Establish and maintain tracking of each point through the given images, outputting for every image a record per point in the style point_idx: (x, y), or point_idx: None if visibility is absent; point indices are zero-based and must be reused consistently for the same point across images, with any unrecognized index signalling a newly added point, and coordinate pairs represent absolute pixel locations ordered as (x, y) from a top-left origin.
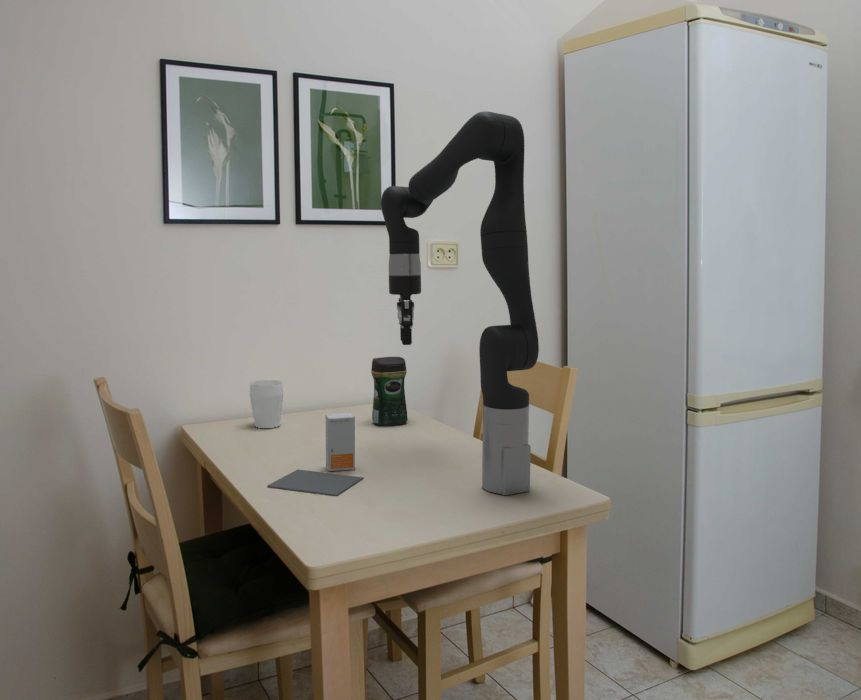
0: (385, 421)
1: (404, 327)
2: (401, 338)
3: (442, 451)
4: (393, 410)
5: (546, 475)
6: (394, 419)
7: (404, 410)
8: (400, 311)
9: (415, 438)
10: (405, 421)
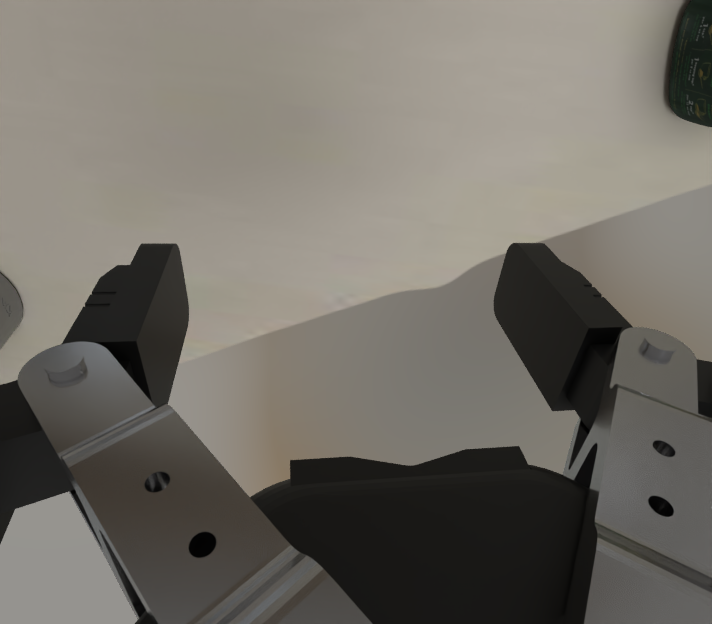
0: (688, 22)
1: (17, 388)
2: (521, 258)
3: (298, 191)
4: (708, 67)
5: None
6: (681, 65)
7: (701, 117)
8: (134, 584)
9: (470, 123)
10: (672, 109)
